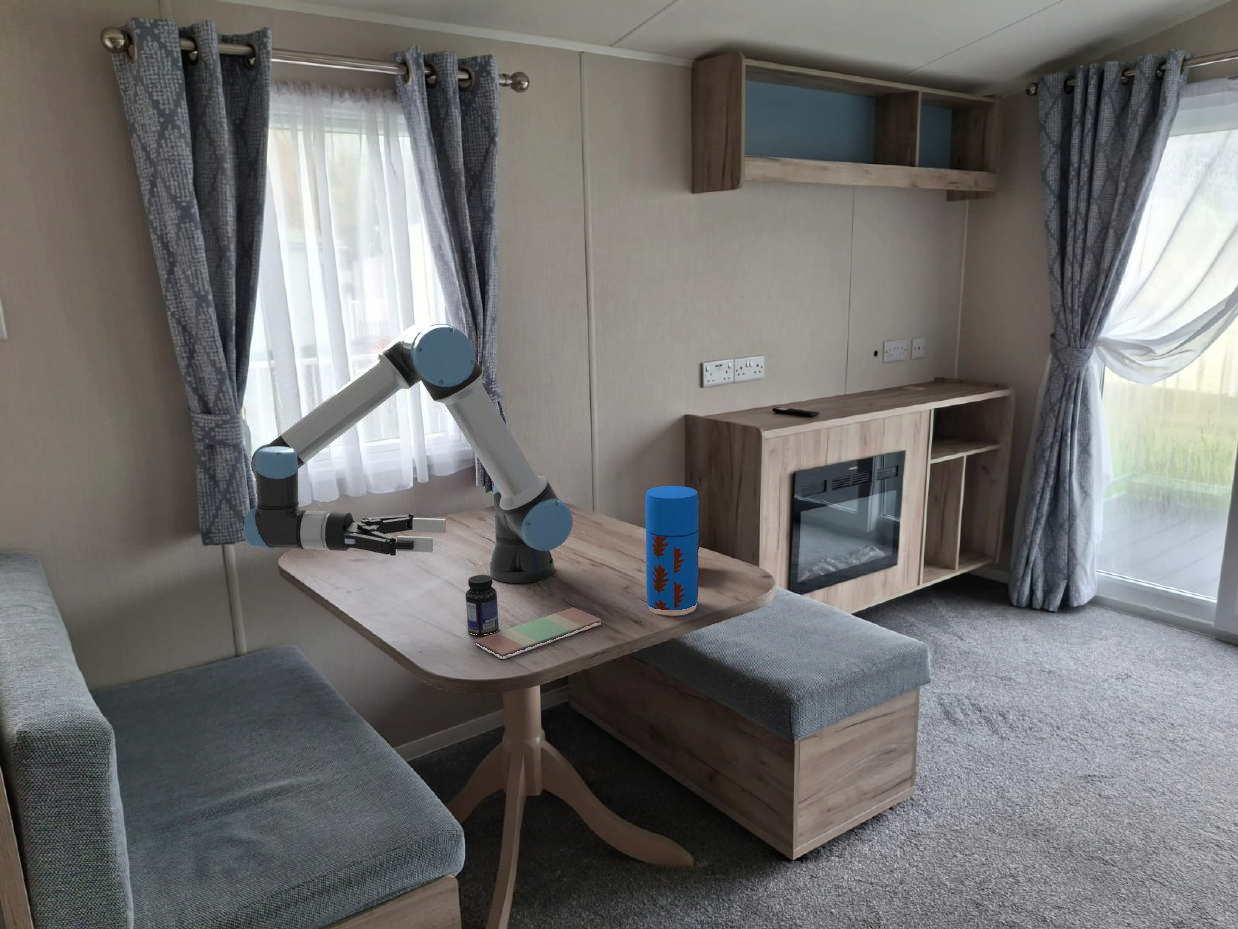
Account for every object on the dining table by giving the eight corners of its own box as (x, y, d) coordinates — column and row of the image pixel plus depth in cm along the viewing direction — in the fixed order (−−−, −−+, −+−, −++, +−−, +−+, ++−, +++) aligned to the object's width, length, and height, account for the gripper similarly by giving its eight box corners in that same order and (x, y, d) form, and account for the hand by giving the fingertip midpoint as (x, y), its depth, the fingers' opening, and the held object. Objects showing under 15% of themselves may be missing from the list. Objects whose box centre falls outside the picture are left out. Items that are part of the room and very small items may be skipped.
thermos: (667, 594, 197) (666, 483, 192) (707, 605, 190) (708, 490, 185) (636, 609, 189) (634, 493, 184) (677, 621, 182) (677, 501, 177)
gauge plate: (475, 645, 172) (475, 639, 172) (573, 612, 187) (573, 607, 187) (502, 660, 165) (502, 654, 165) (601, 624, 181) (601, 619, 181)
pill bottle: (500, 624, 182) (497, 572, 180) (497, 636, 176) (494, 583, 174) (469, 625, 182) (466, 573, 179) (465, 637, 176) (462, 584, 173)
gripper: (347, 532, 187) (450, 536, 188) (308, 568, 163) (426, 573, 163) (347, 497, 186) (450, 501, 186) (307, 528, 161) (426, 533, 162)
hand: (439, 535), depth 175 cm, fingers open, 13 cm apart
